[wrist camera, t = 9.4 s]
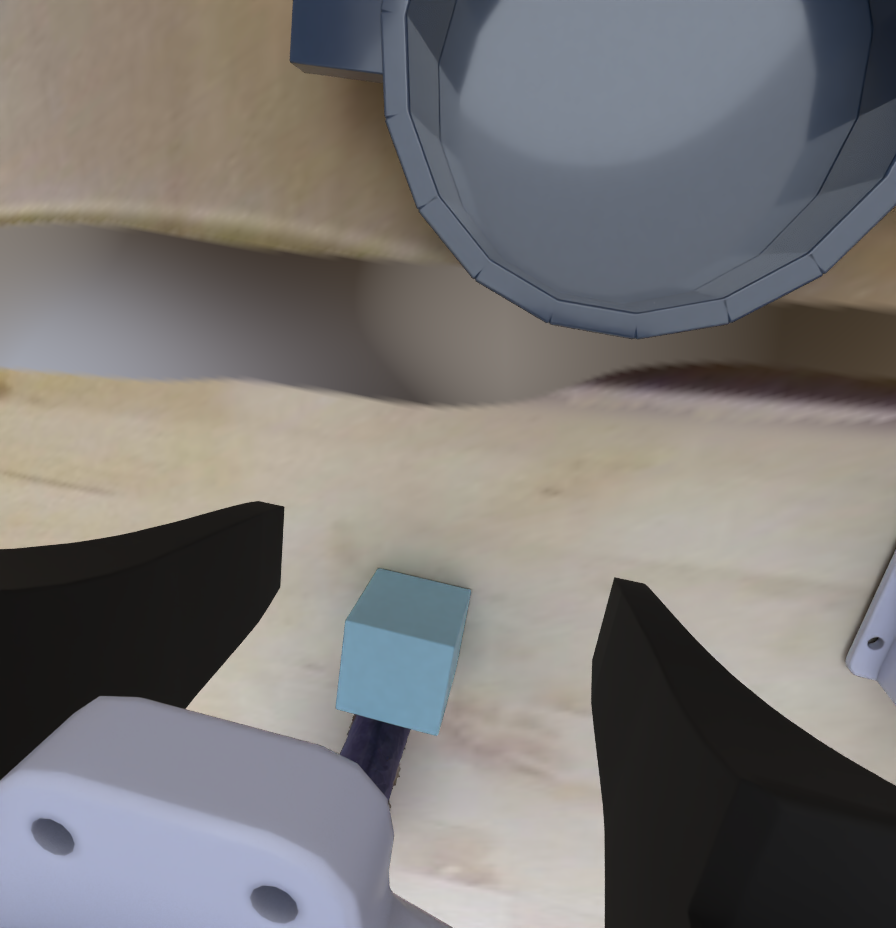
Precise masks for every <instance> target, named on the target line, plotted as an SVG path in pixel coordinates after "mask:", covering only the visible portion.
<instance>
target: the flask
mask: <svg viewBox="0 0 896 928" xmlns="http://www.w3.org/2000/svg"><path fill="white" fill-rule="evenodd" d="M349 728H350V730H349V731H348V733H347V735H348V737H347V740H346V742H345V744H344V746H343V748H342V750H341V753H340V755H341V756H343V757H345V758H347V759H349V760H351V761H353V762H355V763H357V764H358V765H359V766H360V767H361V768H362V769H363V771H364V772H365V773H366V774H367V775H368V777H369V778H370V779H371V780H372V781H373V782H374V784H375V785H376V786H377V787H378V788H379V789H380V791H381V792H382V793H383V794H384V795H385V797H386V798H387V799H388V804H389V797H390V795H391V791H392V789H393V788H392V787H393V786H394V785H396V780H397V778H398V777H400V776H399V771H400V767H399V762H400V759H401V757H402V754H403V750H404V749H405V748H404V747H405V745H406V742H407V738H408V735H409V732H410V730H411V729H409V728H405V727H401V726H398V725H394V724H390V723H386V722H383V721H379V720H375V719H371V718H368V717H364V716H360V715H357V714H355V716H353V719H352V724H351V726H350V727H349ZM390 808H391V805H389V809H390Z"/></svg>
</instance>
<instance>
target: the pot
mask: <svg viewBox="0 0 896 928" xmlns="http://www.w3.org/2000/svg"><path fill="white" fill-rule="evenodd" d="M290 62H291V63H292V64H293V65H295V66H296V67H297V68H299V69H300V70H301V71H303V72H304V73H309V74H317V75H324V76H332V77H339V78H347V79H354V80H362V81H369V82H377V83H383V95H384V116H385V118H386V119H385V122H386V125H387V128H388V130H389V133H390V136H391V139H392V141H393V144H394V147H395V150H396V152H397V155H398V158H399V161H400V163H401V166H402V169H403V172H404V174H405V177H406V180H407V183H408V185H409V188H410V191H411V194H412V196H413V199H414V202H415V205H416V207H417V209H418V210H419V213H420V214H421V215H422V217H423V218H424V219H425V220H426V222H427V223H428V224H429V225H430V226H431V228H432V229H433V230H434V231H435V233H436V234H437V235H438V236H439V238H440V239H441V240H442V241H443V243H444V244H445V245H446V246H447V248H448V249H449V250H450V251H451V252H452V254H453V255H454V256H455V257H456V259H457V260H458V261H459V262H460V264H461V265H462V266H463V267H464V269H465V270H466V271H467V272H468V273H469V275H470V276H471V277H472V278H473V279H475V280H476V282H478V283H480V284H481V285H483V286H485V287H486V288H488V289H490V290H491V291H493V292H495V293H496V294H498V295H500V296H502V297H503V298H505V299H507V300H508V301H510V302H512V303H513V304H515V305H517V306H518V307H520V308H522V309H523V310H525V311H527V312H528V313H530V314H532V315H534V316H535V317H537V318H539V319H540V320H542V321H544V322H545V323H550V324H551V325H556V326H561V327H567V328H572V329H578V330H584V331H589V332H595V333H601V334H606V335H612V336H617V337H623V338H629V339H635V338H636V339H643V338H649V337H655V336H661V335H667V334H673V333H679V332H685V331H691V330H697V329H703V328H709V327H714V326H721V325H727V324H729V323H733V322H735V321H737V320H738V319H740V318H742V317H744V316H746V315H748V314H749V313H752V312H754V311H756V310H758V309H760V308H762V307H763V306H765V305H767V304H769V303H771V302H773V301H775V300H777V299H779V298H781V297H783V296H785V295H787V294H789V293H791V292H792V291H794V290H796V289H798V288H800V287H802V286H804V285H806V284H808V283H810V282H812V281H814V280H816V279H818V278H819V277H821V276H822V275H823V274H825V273H827V272H828V271H829V270H830V269H831V268H832V267H833V266H834V265H835V264H836V263H837V262H838V261H839V260H840V259H841V258H842V257H843V256H844V255H845V254H846V253H847V252H848V251H849V250H851V249H852V248H853V247H854V246H855V245H856V244H857V243H858V242H859V241H860V240H861V239H862V238H863V237H864V236H865V235H866V234H867V233H868V232H869V231H870V230H871V229H872V228H873V227H874V226H875V225H876V224H877V223H878V222H879V221H880V220H882V219H883V218H884V217H885V216H886V215H887V214H888V213H889V212H890V211H891V210H892V209H893V208H894V207H895V206H896V0H293V10H292V28H291V46H290Z"/></svg>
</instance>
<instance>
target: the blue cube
mask: <svg viewBox="0 0 896 928" xmlns="http://www.w3.org/2000/svg"><path fill="white" fill-rule="evenodd" d="M470 595H471V590H469V589H465V588H461V587H457V586H452V585H448V584H444V583H440V582H436V581H431V580H427V579H423V578H419V577H414V576H410V575H406V574H402V573H397V572H393V571H389V570H385V569H381V568H378V569H377V571H376V572H375V574H374V575H373V577H372V579H371V580H370V582H369V583H368V585H367V587H366V588H365V590H364V592H363V593H362V595H361V596H360V598H359V600H358V601H357V603H356V605H355V606H354V608H353V609H352V611H351V613H350V614H349V616H348V617H347V619H346V621H345V629H344V638H343V646H342V655H341V664H340V673H339V681H338V690H337V699H336V709H338V710H342V711H345V712H349V713H353V714H357V715H360V716H364V717H368V718H371V719H375V720H379V721H383V722H386V723H390V724H394V725H398V726H401V727H405V728H409V729H412V730H416V731H420V732H424V733H427V734H431V735H435V736H437V735H438V734H439V730H440V727H441V723H442V719H443V716H444V712H445V708H446V705H447V701H448V697H449V693H450V690H451V686H452V682H453V679H454V675H455V671H456V667H457V662H458V657H459V652H460V647H461V641H462V636H463V631H464V626H465V621H466V616H467V611H468V605H469V600H470Z"/></svg>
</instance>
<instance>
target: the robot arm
mask: <svg viewBox="0 0 896 928" xmlns="http://www.w3.org/2000/svg"><path fill="white" fill-rule="evenodd" d="M283 524H284V507H283V506H279V505H274V504H269V503H265V502H260V501H256V502H249V503H244V504H240V505H236V506H232V507H228V508H224V509H221V510H217V511H213V512H210V513H206V514H203V515H199V516H195V517H192V518H188V519H185V520H181V521H177V522H173V523H169V524H165V525H161V526H157V527H153V528H149V529H145V530H141V531H137V532H132V533H128V534H123V535H118V536H112V537H107V538H101V539H95V540H89V541H82V542H75V543H68V544H58V545H48V546H37V547H27V548H17V549H0V928H453V927H451V926H449V925H448V924H446V923H444V922H443V921H441V920H439V919H437V918H436V917H434V916H432V915H430V914H429V913H427V912H425V911H424V910H422V909H420V908H418V907H417V906H415V905H413V904H412V903H410V902H408V901H406V900H405V899H403V898H401V897H400V896H398V895H396V894H394V893H393V892H392V891H391V889H390V886H389V866H390V859H391V853H392V846H393V839H394V831H393V825H392V820H391V815H390V809H389V804H388V799H387V798H386V797H385V795H384V794H383V793H382V792H381V791H380V789H379V788H378V787H377V786H376V785H375V784H374V782H373V781H372V780H371V779H370V778H369V777H368V775H367V774H366V773H365V772H364V771H363V769H362V768H361V767H360V766H359V765H358V764H357V763H355V762H353V761H351V760H349V759H347V758H345V757H343V756H341V755H339V754H337V753H335V752H333V751H331V750H329V749H327V748H325V747H323V746H321V745H318V744H314V743H310V742H307V741H303V740H299V739H295V738H292V737H288V736H284V735H280V734H277V733H273V732H269V731H265V730H262V729H258V728H254V727H250V726H247V725H243V724H239V723H235V722H231V721H228V720H224V719H220V718H216V717H213V716H209V715H205V714H201V713H198V712H194V711H190V710H186V708H187V706H188V705H189V704H190V702H191V701H192V700H193V699H194V697H195V696H196V695H197V694H198V693H199V691H200V690H201V689H202V688H203V687H204V686H205V685H206V683H207V682H208V681H209V680H210V679H211V678H212V676H213V675H214V674H215V673H216V672H217V671H218V669H219V668H220V667H221V666H222V665H223V664H224V662H225V661H226V660H227V659H228V658H229V657H230V655H231V654H232V653H233V652H234V651H235V650H236V649H237V647H238V646H239V645H240V644H241V643H242V641H243V640H244V639H245V638H246V637H247V635H248V634H249V633H250V632H251V631H252V630H253V628H254V627H255V626H256V625H257V623H258V622H259V621H260V619H261V618H262V616H263V614H264V613H265V611H266V610H267V608H268V607H269V605H270V603H271V602H272V600H273V598H274V597H275V595H276V593H277V592H278V590H279V588H280V581H281V562H282V543H283ZM874 637H879V638H878V640H877V641H876V642H874V643H868V641H869V640H870V639H871V638H874ZM845 662H846V665H847V667H848V668H849V670H850V671H851V672H852V673H853V674H854V675H856V676H859V677H863V678H867V679H871V680H876V681H877V682H878V683H879V684H880V686H881V687H882V688H883V690H884V691H885V692H886V694H887V695H888V696H889V698H890V699H891V700H892V702H893V703H894V704H895V706H896V550H895V552H894V555H893V557H892V559H891V561H890V563H889V565H888V568H887V570H886V572H885V574H884V576H883V578H882V581H881V583H880V585H879V587H878V589H877V591H876V594H875V596H874V598H873V600H872V602H871V605H870V607H869V609H868V611H867V613H866V615H865V618H864V620H863V622H862V624H861V626H860V628H859V631H858V633H857V635H856V637H855V639H854V641H853V644H852V646H851V648H850V650H849V652H848V654H847V657H846V661H845ZM591 705H592V715H593V724H594V733H595V742H596V750H597V759H598V767H599V776H600V784H601V793H602V801H603V814H604V830H605V928H896V786H895V785H893V784H892V783H890V782H888V781H886V780H884V779H882V778H881V777H879V776H877V775H876V774H874V773H872V772H870V771H869V770H867V769H865V768H863V767H862V766H860V765H858V764H857V763H855V762H853V761H851V760H850V759H848V758H846V757H845V756H843V755H841V754H840V753H838V752H836V751H835V750H833V749H832V748H830V747H828V746H827V745H825V744H824V743H822V742H821V741H819V740H818V739H816V738H815V737H813V736H812V735H810V734H809V733H807V732H806V731H804V730H803V729H801V728H800V727H799V726H797V725H796V724H794V723H793V722H791V721H790V720H788V719H787V718H785V717H784V716H783V715H781V714H780V713H779V712H777V711H776V710H775V709H773V708H772V707H771V706H769V705H768V704H767V703H766V702H764V701H763V700H762V699H761V698H759V697H758V696H757V695H756V694H754V693H753V692H752V691H751V690H749V689H748V688H747V687H746V686H745V685H743V684H742V683H741V682H740V681H739V680H738V679H736V678H735V677H734V676H733V675H732V674H731V673H730V672H728V671H727V670H726V669H725V668H724V667H723V666H722V665H721V664H720V663H719V662H718V661H717V660H716V659H715V658H714V657H713V656H712V655H711V654H710V653H709V652H707V650H706V649H705V648H704V647H703V646H702V645H701V644H700V643H699V642H698V641H697V640H696V639H695V638H694V637H693V636H692V635H691V634H690V633H689V632H688V631H687V630H686V629H685V627H684V626H683V625H682V624H681V623H680V622H679V621H678V620H677V619H676V618H675V616H674V615H673V614H672V613H671V612H670V611H669V610H668V608H667V607H666V606H665V605H664V604H663V603H662V602H661V601H660V599H659V598H658V597H657V596H656V595H655V594H654V593H653V592H652V591H651V589H650V588H649V587H648V586H647V585H645V584H643V583H638V582H634V581H629V580H624V579H620V578H615V577H614V581H613V585H612V588H611V592H610V596H609V599H608V603H607V607H606V611H605V614H604V618H603V622H602V626H601V629H600V633H599V637H598V641H597V644H596V648H595V652H594V655H593V659H592V687H591Z"/></svg>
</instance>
